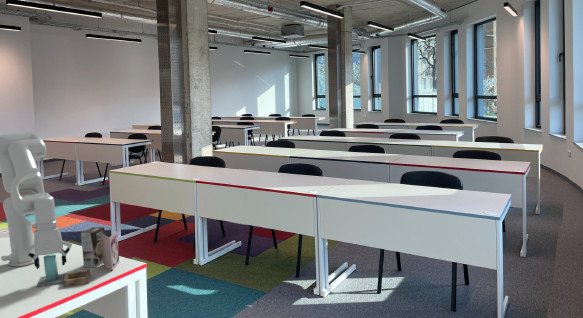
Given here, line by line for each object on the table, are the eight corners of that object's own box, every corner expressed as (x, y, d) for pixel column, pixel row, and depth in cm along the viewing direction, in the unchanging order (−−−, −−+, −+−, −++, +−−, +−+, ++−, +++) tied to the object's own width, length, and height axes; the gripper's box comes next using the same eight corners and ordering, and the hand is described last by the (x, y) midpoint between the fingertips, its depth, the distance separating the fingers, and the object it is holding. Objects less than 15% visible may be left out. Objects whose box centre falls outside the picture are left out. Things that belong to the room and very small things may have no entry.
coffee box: (96, 267, 212) (92, 232, 209) (83, 267, 213) (79, 232, 211) (108, 260, 220) (104, 226, 218) (95, 260, 222) (92, 226, 219)
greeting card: (114, 271, 207) (111, 237, 205) (96, 272, 206) (93, 238, 204) (121, 261, 218) (118, 230, 216) (104, 263, 217) (101, 231, 215)
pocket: (64, 286, 191) (63, 280, 191) (67, 278, 200) (66, 273, 199) (88, 283, 194) (88, 277, 194) (90, 275, 203) (89, 269, 202)
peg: (45, 281, 196) (42, 258, 194) (47, 278, 200) (44, 255, 199) (57, 280, 197) (55, 256, 196) (59, 276, 201) (56, 253, 200)
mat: (37, 287, 192) (37, 285, 192) (41, 278, 202) (41, 276, 201) (64, 283, 195) (64, 281, 195) (67, 274, 205) (67, 273, 205)
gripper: (21, 231, 189) (25, 272, 191) (68, 225, 194) (72, 265, 197) (24, 226, 196) (29, 266, 198) (70, 221, 201) (74, 260, 204)
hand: (51, 266), depth 198 cm, fingers open, 9 cm apart
